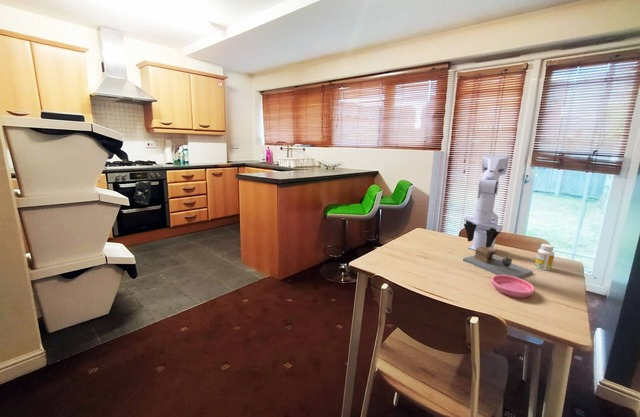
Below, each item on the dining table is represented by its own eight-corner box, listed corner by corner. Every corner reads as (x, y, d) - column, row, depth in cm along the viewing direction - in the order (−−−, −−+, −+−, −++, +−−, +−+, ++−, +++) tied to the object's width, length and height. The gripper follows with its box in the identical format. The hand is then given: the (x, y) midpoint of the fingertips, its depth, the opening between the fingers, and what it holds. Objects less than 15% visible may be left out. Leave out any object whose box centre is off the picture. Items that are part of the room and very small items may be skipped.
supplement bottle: (548, 266, 119) (553, 244, 117) (552, 271, 114) (558, 248, 112) (533, 264, 121) (537, 242, 119) (536, 269, 116) (541, 246, 114)
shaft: (485, 256, 123) (486, 248, 122) (510, 266, 114) (512, 257, 113) (479, 257, 121) (481, 249, 120) (505, 267, 112) (507, 259, 111)
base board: (482, 255, 129) (483, 253, 129) (532, 273, 112) (532, 271, 112) (462, 260, 122) (463, 258, 122) (512, 280, 105) (512, 278, 105)
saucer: (517, 304, 90) (519, 295, 90) (481, 285, 101) (483, 277, 101) (541, 296, 95) (543, 288, 94) (505, 280, 106) (506, 272, 106)
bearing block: (483, 256, 125) (485, 245, 124) (494, 260, 121) (496, 249, 119) (474, 258, 122) (476, 248, 121) (485, 263, 118) (487, 252, 117)
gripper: (460, 207, 116) (456, 239, 119) (496, 216, 103) (490, 251, 106) (472, 206, 119) (467, 237, 122) (508, 214, 106) (501, 248, 110)
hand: (478, 243), depth 114 cm, fingers open, 7 cm apart
